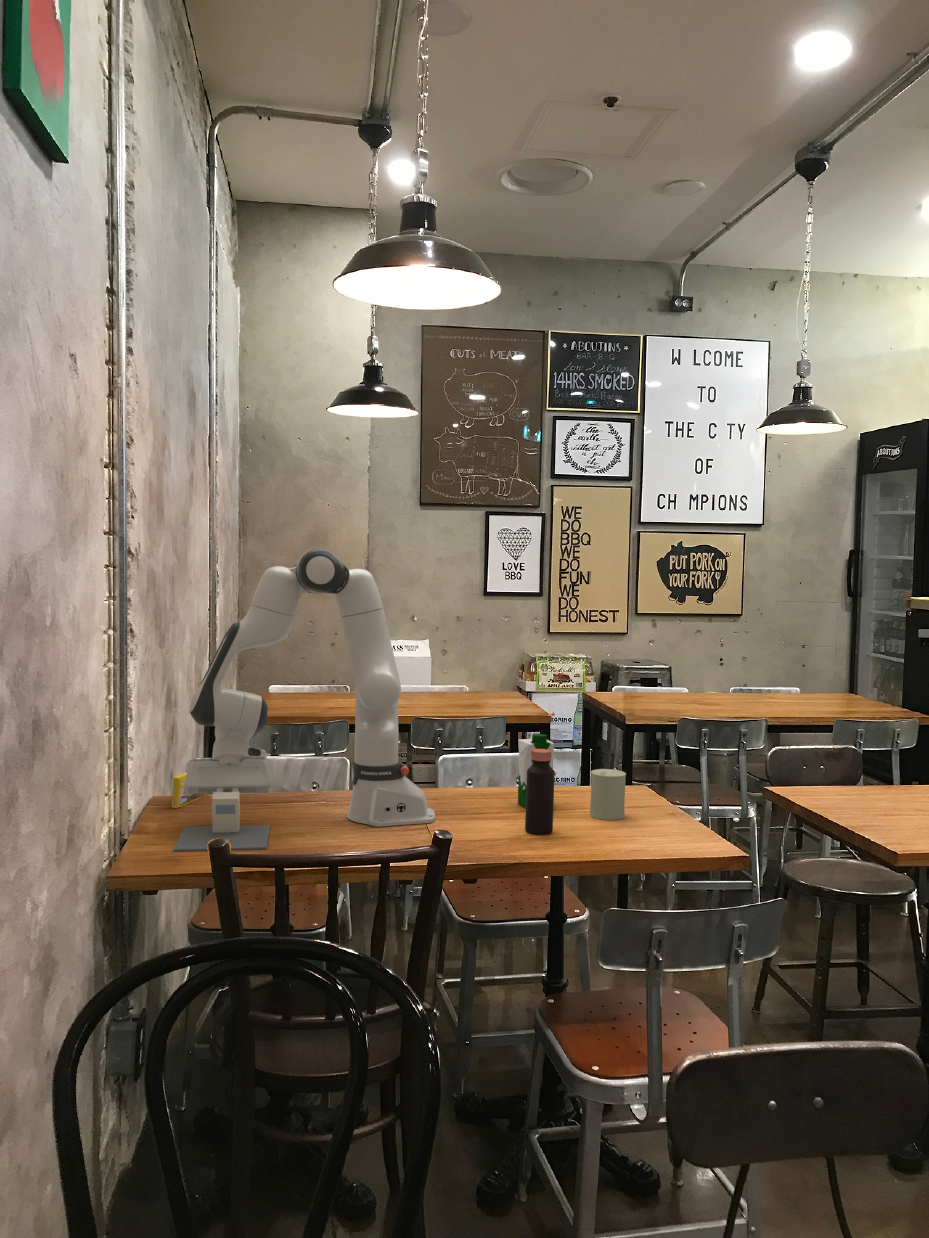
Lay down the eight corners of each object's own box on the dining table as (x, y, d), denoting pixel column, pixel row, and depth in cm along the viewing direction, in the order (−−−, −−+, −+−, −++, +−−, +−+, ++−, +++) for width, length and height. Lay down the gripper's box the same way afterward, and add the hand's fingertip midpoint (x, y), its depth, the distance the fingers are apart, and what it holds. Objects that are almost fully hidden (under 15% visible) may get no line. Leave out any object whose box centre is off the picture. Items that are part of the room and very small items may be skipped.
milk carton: (525, 811, 239) (527, 736, 238) (513, 803, 247) (515, 731, 246) (555, 809, 241) (558, 735, 241) (542, 801, 250) (544, 730, 249)
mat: (269, 827, 217) (269, 825, 217) (266, 849, 200) (266, 847, 200) (184, 828, 214) (184, 826, 214) (173, 851, 196) (173, 849, 196)
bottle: (524, 827, 223) (526, 747, 222) (551, 828, 223) (554, 748, 222) (525, 834, 217) (527, 752, 216) (553, 835, 216) (556, 753, 216)
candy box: (178, 809, 232) (178, 777, 232) (170, 808, 232) (171, 777, 232) (208, 795, 248) (208, 765, 248) (201, 794, 248) (201, 764, 248)
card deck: (239, 824, 214) (239, 791, 211) (238, 832, 211) (238, 798, 208) (213, 825, 213) (213, 792, 210) (212, 832, 210) (211, 799, 207)
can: (582, 815, 236) (584, 770, 236) (602, 809, 243) (603, 765, 242) (612, 822, 230) (613, 776, 229) (631, 816, 237) (633, 771, 236)
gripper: (185, 751, 217) (179, 800, 208) (272, 750, 221) (269, 799, 211) (188, 765, 222) (182, 814, 212) (272, 764, 225) (270, 813, 216)
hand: (226, 807), depth 212 cm, fingers closed
